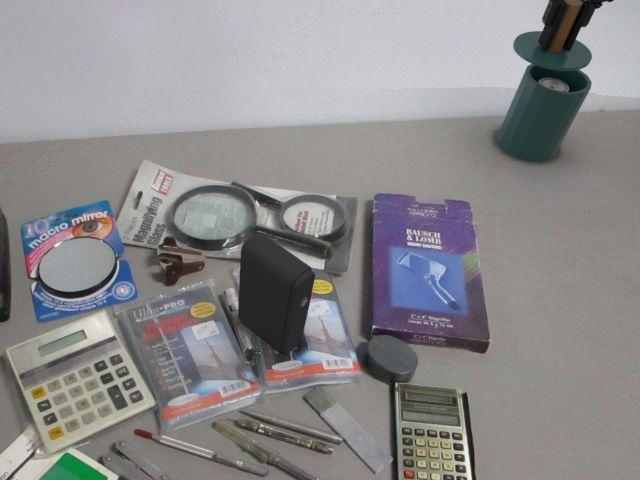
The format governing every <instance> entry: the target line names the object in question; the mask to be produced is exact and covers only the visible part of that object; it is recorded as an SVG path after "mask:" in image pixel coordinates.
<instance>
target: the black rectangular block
mask: <svg viewBox="0 0 640 480" xmlns="http://www.w3.org/2000/svg"><path fill="white" fill-rule="evenodd" d="M315 279H316V273H315V271H313V268H312V266H310V265H309V264H308V263H306V262H304V261H303V260H302V259H300V258H299V257H297V256H296V255H295V254H293V253H292V252H290V251H289V250H287V249H286V248H284V247H283V246H282V245H280V244H279V243H278V242H276V241H274V240H273V239H272V238H270V237H269V236H267V235H266V234H261V233H254V234H252V235H251V236H250V237H249V238H247V239H246V240H244V242H243V243H242V245H241V248H240V261H239V281H238V284H239V285H238V306H237V308H238V309H237V311H238V312H237V317H238V320H240V323H241V324H242V325H244V326H245V327H246V328H247V329H249V330H250V331H251V332H252V333H253V334H254V335H256V336H257V337H258V338H260V339H261V340H262V341H263V342H265V344H267V345H268V346H269V347H271V348H272V349H273V350H275V351H276V352H277V353H278V354H280V353H281V354H282V355H284V356H287V355H288V354H290V353H291V352H292V351H293V350H294V349H295V348H297V346H299V345H300V344H301V342H302V339H303V335H304V332H305V327H306V323H307V319H308V313H309V310H310V309H309V308H310V304H311V298H312V294H313V290H314V289H313V288H314V284H315Z"/></svg>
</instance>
